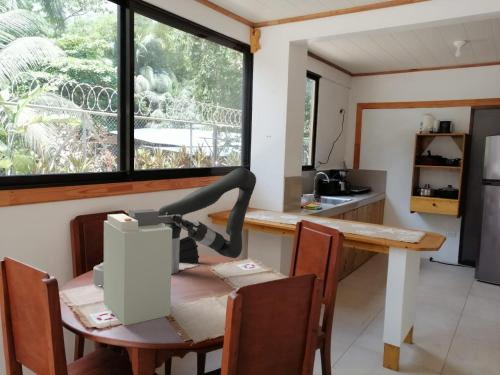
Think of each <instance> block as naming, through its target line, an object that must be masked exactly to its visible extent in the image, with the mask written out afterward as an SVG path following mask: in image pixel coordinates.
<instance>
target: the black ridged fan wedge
mask: <svg viewBox="0 0 500 375" xmlns="http://www.w3.org/2000/svg"><path fill="white" fill-rule="evenodd" d="M199 259H200V255H199V250H198V244H197V241H195V240H193V239H191V238H190V237H189V236H188V235H187V236H185V237H182V238H181V239H180V251H179V264H181V263H183V264H193V265H194V264H195V265H197V264H198V263H199Z"/></svg>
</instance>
